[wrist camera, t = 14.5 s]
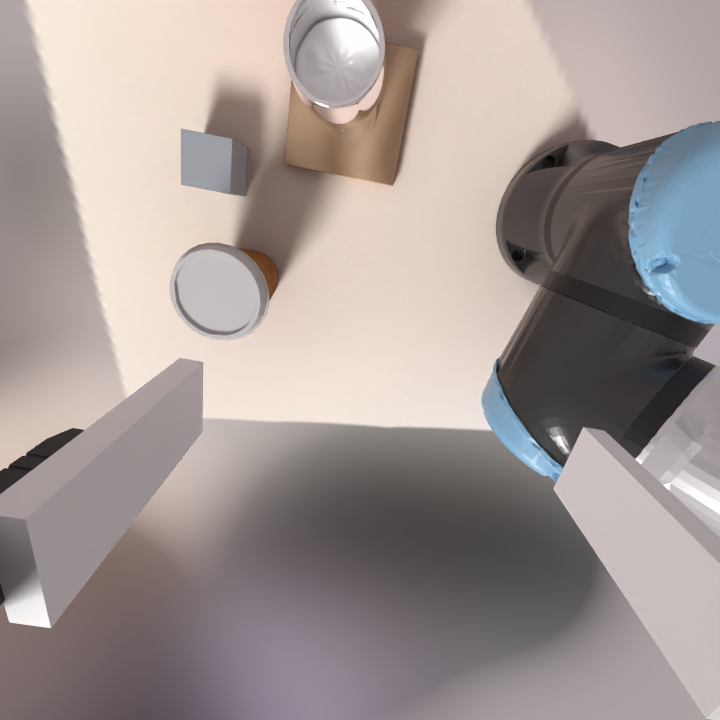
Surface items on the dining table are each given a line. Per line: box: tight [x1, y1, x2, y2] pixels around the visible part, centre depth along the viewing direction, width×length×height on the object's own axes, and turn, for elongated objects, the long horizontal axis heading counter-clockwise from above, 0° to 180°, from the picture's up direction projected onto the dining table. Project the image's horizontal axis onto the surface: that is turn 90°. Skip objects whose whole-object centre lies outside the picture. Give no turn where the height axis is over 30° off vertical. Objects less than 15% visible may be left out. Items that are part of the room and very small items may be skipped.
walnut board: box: [284, 43, 419, 186], centre depth 38 cm, size 12×12×2 cm
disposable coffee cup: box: [170, 243, 278, 340], centre depth 40 cm, size 10×10×12 cm
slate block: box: [181, 129, 248, 196], centre depth 39 cm, size 5×5×5 cm
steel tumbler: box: [283, 0, 386, 143], centre depth 30 cm, size 7×7×15 cm
